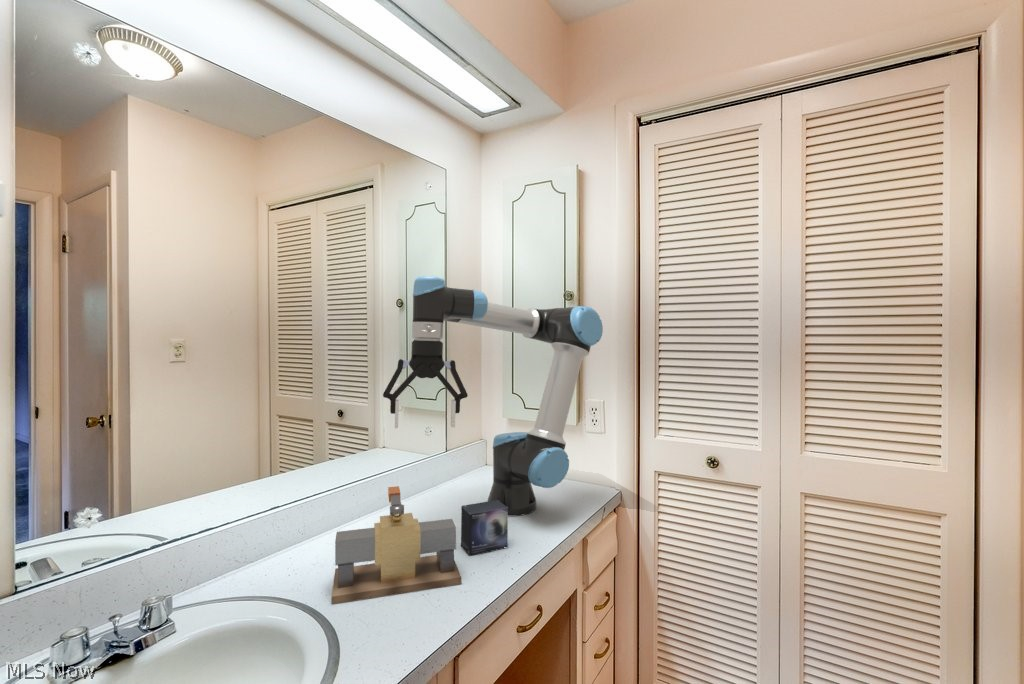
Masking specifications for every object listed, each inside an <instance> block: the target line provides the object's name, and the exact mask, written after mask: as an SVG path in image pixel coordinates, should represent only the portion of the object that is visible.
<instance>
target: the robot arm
mask: <svg viewBox="0 0 1024 684" xmlns="http://www.w3.org/2000/svg"><path fill="white" fill-rule="evenodd" d="M444 322H450V323H458V324H463V325H469V326H473V327H475V326H476V327H480V328H486V329H492V330H496V331H497V330H498V331H503V332H504V331H505V332H510V333H515V334H521V335H522V336H523V337H524V338H527V339H532V340H535V341H540V342H543V343H546V344H551V347H552V349H553V350H554V351H553V352H554V353H553V356H552V360H551V364H550V367H549V371H548V375H547V378H546V382H545V386H544V390H543V393H542V396H541V397H542V398H541V400H540V404H539V408H538V412H537V416H536V420H535V423H534V427H533V429H531V430H530V431H518V432H517V431H516V432H514V431H513V432H507V433H506V432H505V433H499V434H496V435H495V436H494V437H493V443H492V455H493V456H492V457H493V461H492V463H493V464H492V466H493V467H492V471H493V472H492V475H493V477H492V478H493V479H492V480H493V481H492V486H491V488H490V490H489V491H490V492H489V496H488V498H487V502H488V501H493V500H499V501H500V502H501V503H503V504H504V505H505V506H507V507H508V515H516V516H523V515H522V514H524V515H527V514H526V513H528V514H530V513H529V512H531V513H533V512H534V511H535V510H536V509H537V498H536V495H535V493H534V492H535V491H534V489H533V486H535V487H541V488H544V489H551V488H554V487H556V486H557V485H559V484H560V483H562V481H563V480H564V479H565V477H566V476H567V475H568V471H569V468H570V459H569V456H568V453H567V452H566V451H565V449H566V445H567V444H566V441H565V439H564V437H563V435H564V432H565V427H566V424H567V419H568V415H569V412H570V409H571V405H572V400H573V397H574V393H575V388H576V384H577V381H578V377H579V374H580V373H579V372H580V370H581V365H582V361H583V359H584V358H586V357H587V356H589V355H590V352H591V347H592V346H594V345H596V344H598V343H599V342H600V341H601V339H602V336H603V332H604V331H603V330H604V328H603V327H604V326H603V323H602V322H603V321H602V319H601V316H600V315H599V313H598V312H597V311H596V310H595V309H594V308H592V307H591V306H585V305H584V306H582V305H575V306H569V307H554V308H545V309H543V308H542V309H539V308H538V309H537V308H534V307H529V308H527V309H522V308H517V307H513V306H507V305H503V304H498V303H493V302H489V301H488V297H487V295H486V294H485V293H484V292H483V291H481V290H475V289H468V288H467V289H465V288H464V289H463V288H456V287H455V288H454V287H448V286H446V282H445V279H444V278H442V277H439V276H433V275H432V276H431V275H430V276H429V275H421V276H418V277H416V278H415V279H414V283H413V291H412V325H411V326H412V328H411V329H412V331H411V332H412V333H411V339H413V340H412V341H411V357H410V360H406V359H402V358H399V359H398V361H397V366H396V367H397V368H396V369H395V372H394V373H393V375H392V377H391V379H390V380H389V382H388V384H387V386H386V388H385V389H384V391H383V394H382V397H383V398H385V399H388V400H389V401H390V408H389V409H390V414H394V429H398V428H399V410H400V409H399V408H400V407H399V406H400V401H399V400H400V399H398V397H399V396H400V395H401V394H402V393H403V392H404V391H405V390H406V389H407V388H408V386H409V385H410V384H411V383H412V382H413V381H414V380H415V379H416V378H420V379H426V378H427V379H434V378H436V377H437V379H438V380H439V381H440V382H441V384H442V385H443V386H444V387H445V388H446V390H447V391H448V392H449V393H450V394H451V395H452V397H453V399H450V400H451V401H450V402H451V404H450V426H451V428H455V427H456V414H459V413H460V412H461V400H462V399H467V397H468V393H467V389H466V388H465V386H464V384H463V382H462V379H461V377H460V376H459V373H458V372H457V366H456V361H455V360H453V359H451V360H445V361H444V358H443V356H444V355H443V349H444V348H443V347H444V342H443V341H441V340H443V339H444ZM407 366H409V367H410V368H411V370H412V372H411V373H410V374H408V376H407V377H406V379H405V380H404V381H403V382H402V383H401V384H400V385H399V386H398V387H397V389H395V391H394V392H393V393H391V391H392V390H393V387H394V386H395V384H396V382H397V381H398V378H399V377H400V375H401V374H402V371H403V370H404V369H406V368H407ZM444 367H446V368H447V370H449V371H450V374H451V376H452V378H453V380H454V382H455V384H456V387H457V389H458V390H459V394H458V392H457V391H456V390H455V389H454V388H453V386H452V385H451V384H450V382H449V381H448V380H447V379H446V377H445V376H444V375H443V374H442V372H441V370H442V369H443V368H444ZM532 511H533V512H532Z"/></svg>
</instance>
